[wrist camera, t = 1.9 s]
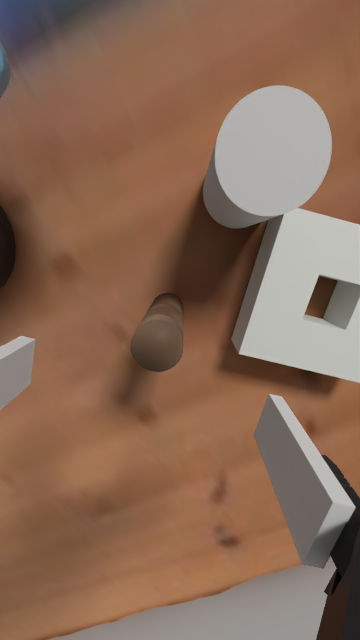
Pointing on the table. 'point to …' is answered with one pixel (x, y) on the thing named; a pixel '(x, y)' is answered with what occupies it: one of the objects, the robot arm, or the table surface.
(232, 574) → the table surface
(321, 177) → the grey cylinder peg
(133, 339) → the walnut dowel
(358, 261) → the socket block
